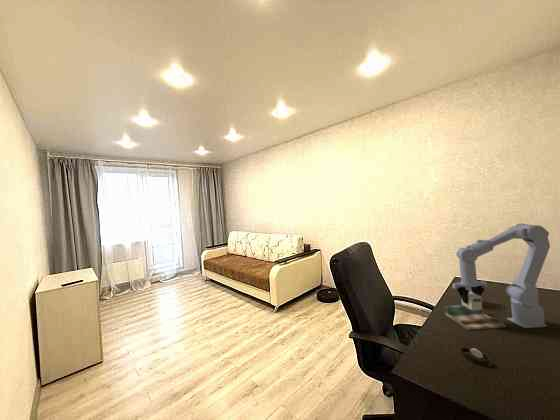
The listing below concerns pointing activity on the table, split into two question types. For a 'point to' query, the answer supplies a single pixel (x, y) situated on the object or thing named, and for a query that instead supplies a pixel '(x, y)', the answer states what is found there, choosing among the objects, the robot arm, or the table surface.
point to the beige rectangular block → (473, 301)
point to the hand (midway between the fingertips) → (470, 302)
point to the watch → (477, 354)
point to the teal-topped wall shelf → (472, 318)
